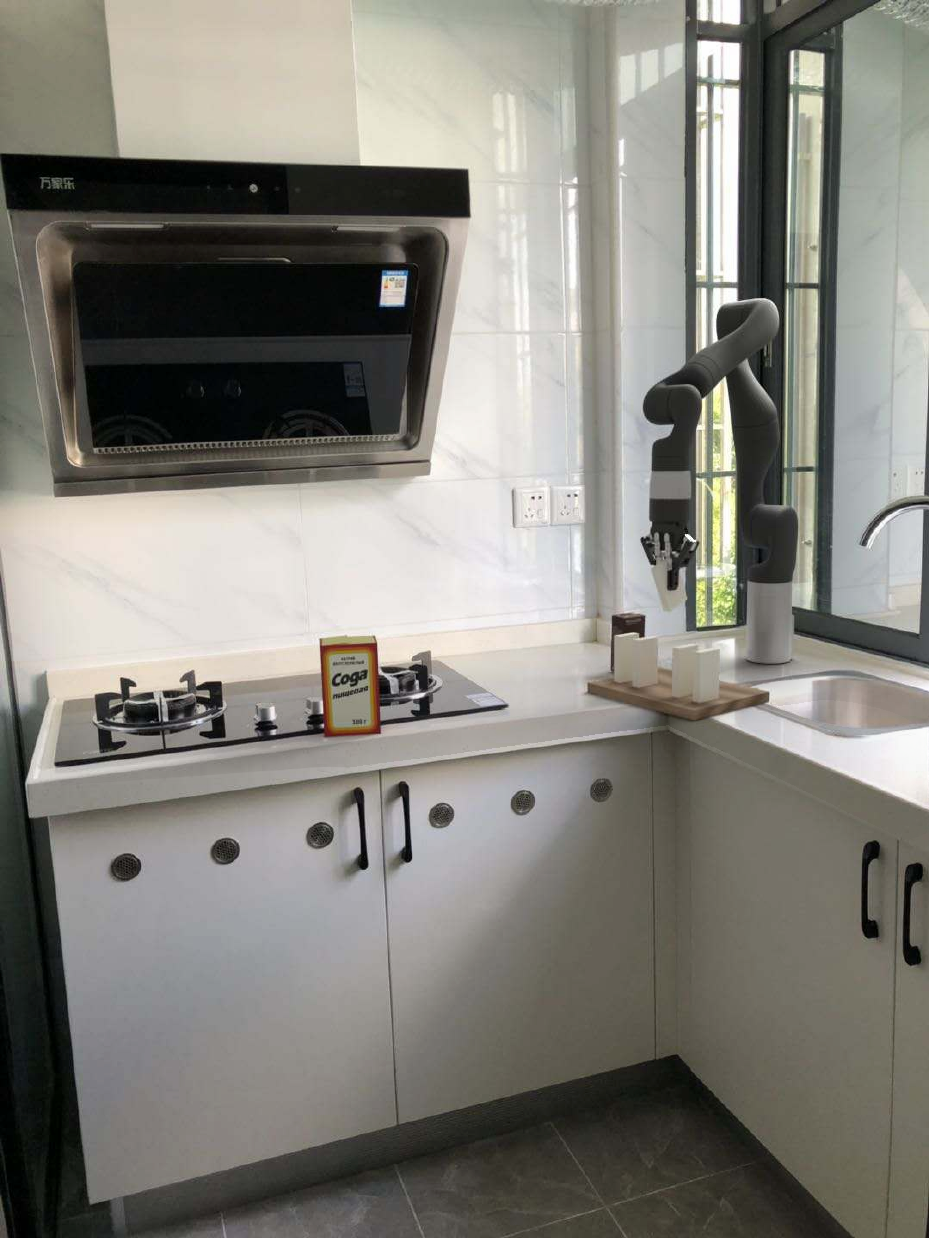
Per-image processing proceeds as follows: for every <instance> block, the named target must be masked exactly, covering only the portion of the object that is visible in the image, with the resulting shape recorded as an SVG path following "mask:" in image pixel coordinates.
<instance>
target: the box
mask: <svg viewBox="0 0 929 1238" xmlns="http://www.w3.org/2000/svg"><path fill="white" fill-rule="evenodd" d="M646 617H647V616H646V614H642V613H637V612H633V611H632V612H626V613H623V612H622V613H618V614H613V615H611V634H610V635H611V638H610V672H612V673H614V636H615V635H621V634H627V633H632V632H634V633H639V638H643V637H646Z"/></svg>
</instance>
